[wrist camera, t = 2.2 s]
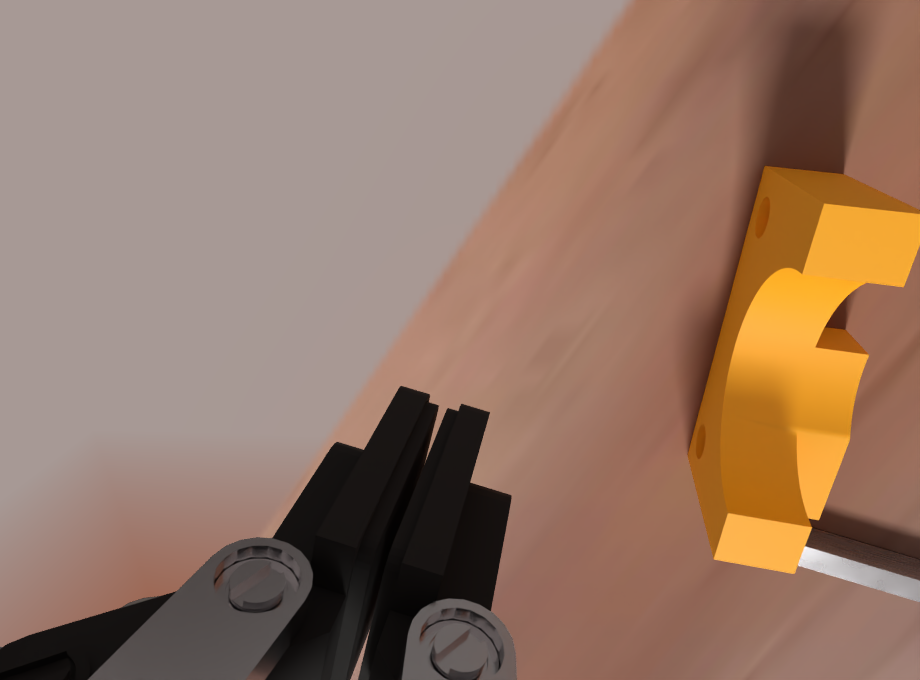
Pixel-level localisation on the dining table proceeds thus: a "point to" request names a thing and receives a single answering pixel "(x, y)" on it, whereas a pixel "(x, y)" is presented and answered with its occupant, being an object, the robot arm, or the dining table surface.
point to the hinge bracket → (862, 564)
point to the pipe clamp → (791, 360)
